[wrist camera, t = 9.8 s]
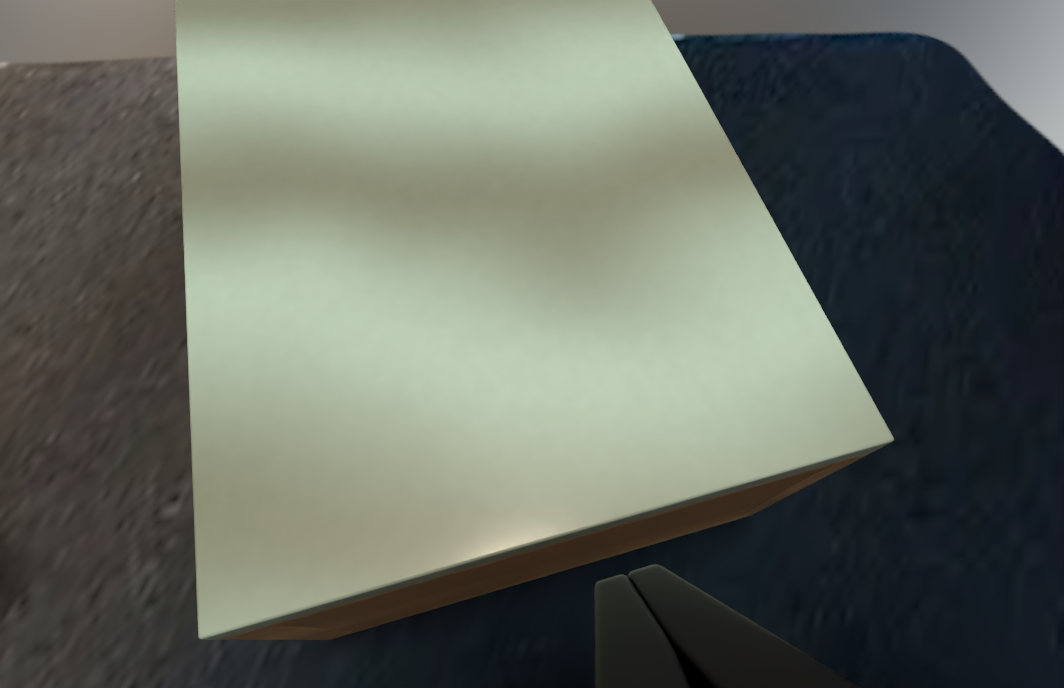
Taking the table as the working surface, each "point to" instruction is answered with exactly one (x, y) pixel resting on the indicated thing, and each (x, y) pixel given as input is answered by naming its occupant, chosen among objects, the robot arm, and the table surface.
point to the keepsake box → (537, 562)
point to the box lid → (471, 295)
